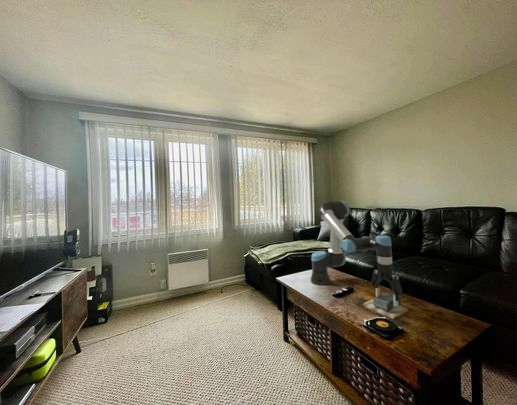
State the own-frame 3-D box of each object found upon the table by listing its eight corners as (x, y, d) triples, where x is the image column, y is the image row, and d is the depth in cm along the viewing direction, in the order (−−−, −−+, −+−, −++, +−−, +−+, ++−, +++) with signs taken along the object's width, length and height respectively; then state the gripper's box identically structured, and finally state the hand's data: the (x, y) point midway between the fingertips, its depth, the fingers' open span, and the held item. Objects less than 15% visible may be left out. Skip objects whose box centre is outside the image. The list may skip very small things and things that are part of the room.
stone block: (371, 306, 120) (370, 297, 120) (385, 299, 127) (385, 290, 127) (387, 312, 112) (386, 302, 112) (401, 304, 119) (400, 295, 119)
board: (363, 305, 124) (363, 303, 124) (378, 299, 130) (377, 297, 130) (392, 318, 108) (392, 315, 109) (407, 311, 115) (407, 308, 115)
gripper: (362, 260, 126) (364, 296, 126) (401, 269, 107) (403, 312, 106) (370, 258, 130) (372, 293, 130) (409, 266, 110) (411, 308, 110)
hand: (386, 302), depth 118 cm, fingers open, 9 cm apart
